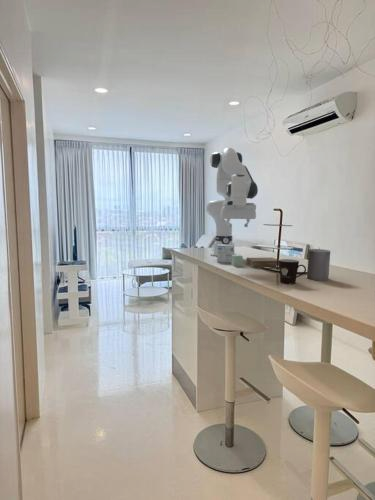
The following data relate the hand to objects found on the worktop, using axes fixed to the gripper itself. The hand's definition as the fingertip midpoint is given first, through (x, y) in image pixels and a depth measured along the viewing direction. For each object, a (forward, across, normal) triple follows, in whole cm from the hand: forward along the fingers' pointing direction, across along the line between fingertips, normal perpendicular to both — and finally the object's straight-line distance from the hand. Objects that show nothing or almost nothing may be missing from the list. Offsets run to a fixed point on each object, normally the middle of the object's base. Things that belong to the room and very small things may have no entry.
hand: (238, 227), depth 196 cm
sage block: (+22, 0, -1) cm, 23 cm away
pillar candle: (+24, -28, +40) cm, 54 cm away
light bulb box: (+22, +3, -16) cm, 27 cm away
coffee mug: (+24, -10, +49) cm, 56 cm away
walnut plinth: (+22, -15, +2) cm, 27 cm away
